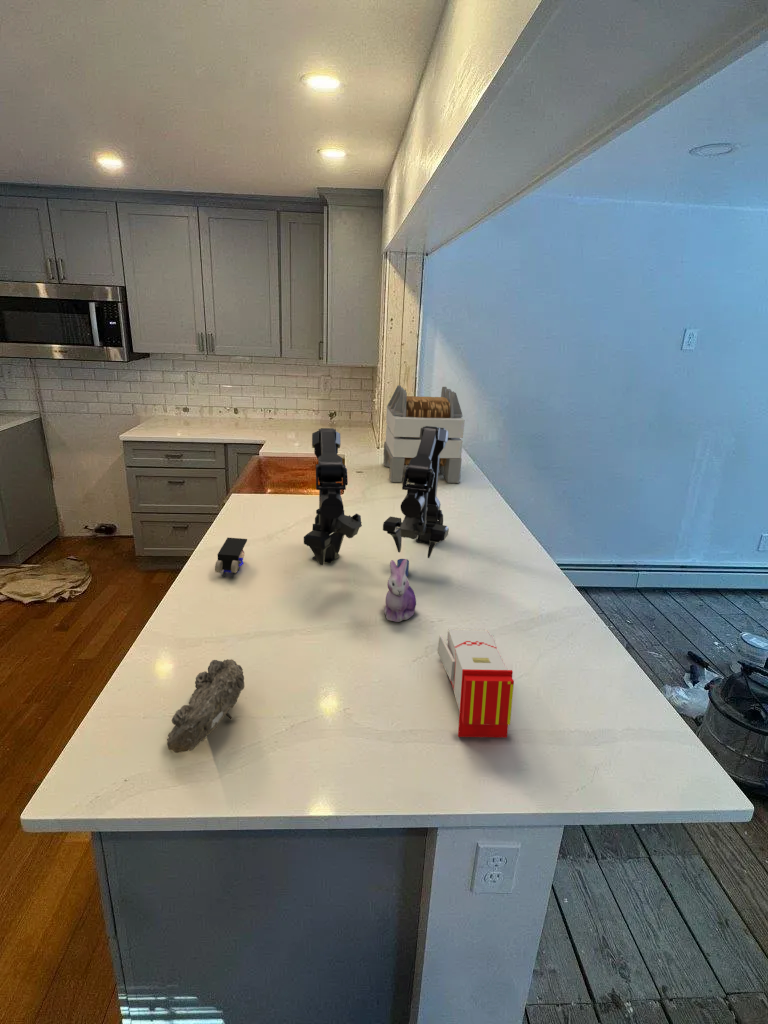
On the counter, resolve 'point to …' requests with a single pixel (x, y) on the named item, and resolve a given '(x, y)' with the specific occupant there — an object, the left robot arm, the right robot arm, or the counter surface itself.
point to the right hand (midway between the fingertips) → (413, 554)
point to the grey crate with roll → (407, 422)
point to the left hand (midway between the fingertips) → (329, 558)
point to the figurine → (399, 594)
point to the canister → (400, 564)
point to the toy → (478, 682)
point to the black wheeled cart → (230, 556)
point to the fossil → (206, 705)
